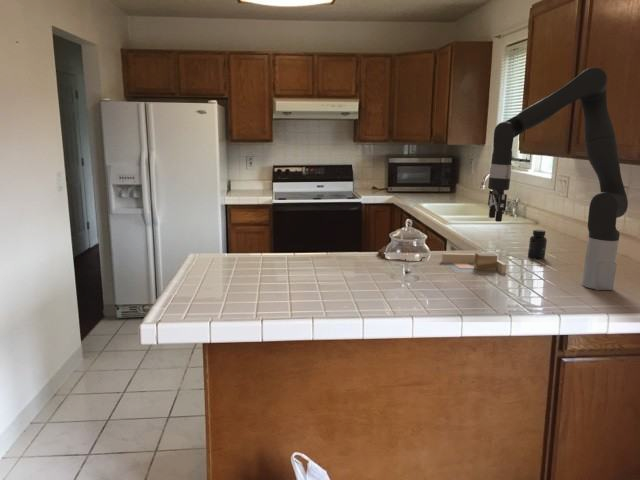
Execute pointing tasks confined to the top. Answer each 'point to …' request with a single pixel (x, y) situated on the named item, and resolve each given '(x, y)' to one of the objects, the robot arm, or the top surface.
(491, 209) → the robot arm
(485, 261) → the oak block
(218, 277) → the top surface
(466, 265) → the tray
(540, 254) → the supplement bottle
